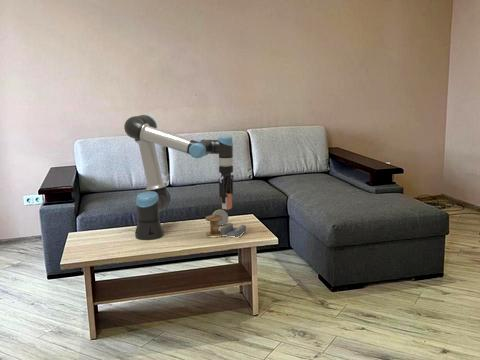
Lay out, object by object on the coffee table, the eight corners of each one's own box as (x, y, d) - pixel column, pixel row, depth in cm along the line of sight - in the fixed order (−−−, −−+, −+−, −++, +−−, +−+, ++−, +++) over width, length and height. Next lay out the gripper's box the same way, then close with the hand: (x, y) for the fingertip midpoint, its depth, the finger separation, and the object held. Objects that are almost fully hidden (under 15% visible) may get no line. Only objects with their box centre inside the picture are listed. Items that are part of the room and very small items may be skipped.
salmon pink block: (222, 209, 270) (221, 194, 269) (225, 207, 274) (225, 193, 272) (228, 209, 269) (228, 195, 267) (231, 207, 272) (231, 193, 271)
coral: (211, 216, 283) (210, 205, 291) (213, 230, 289) (213, 219, 297) (227, 214, 283) (227, 203, 291) (229, 228, 289) (229, 217, 297)
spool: (203, 236, 269) (202, 218, 267) (210, 231, 277) (210, 214, 275) (218, 238, 265) (217, 220, 263) (225, 233, 273) (225, 215, 271)
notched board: (220, 236, 269) (220, 228, 268) (229, 230, 279) (229, 223, 278) (237, 238, 265) (237, 230, 264) (246, 232, 275) (245, 225, 274)
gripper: (224, 168, 258) (225, 212, 262) (239, 163, 273) (239, 205, 277) (212, 167, 261) (213, 210, 265) (226, 162, 276) (227, 203, 280)
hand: (226, 207), depth 271 cm, fingers closed on salmon pink block, 4 cm apart
